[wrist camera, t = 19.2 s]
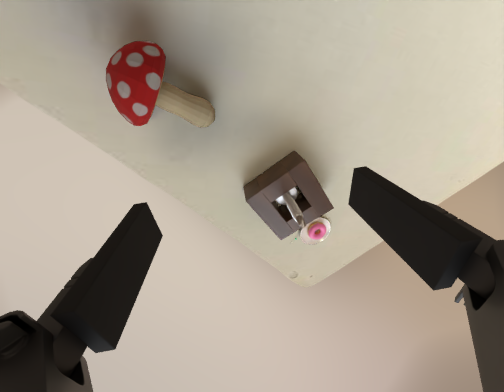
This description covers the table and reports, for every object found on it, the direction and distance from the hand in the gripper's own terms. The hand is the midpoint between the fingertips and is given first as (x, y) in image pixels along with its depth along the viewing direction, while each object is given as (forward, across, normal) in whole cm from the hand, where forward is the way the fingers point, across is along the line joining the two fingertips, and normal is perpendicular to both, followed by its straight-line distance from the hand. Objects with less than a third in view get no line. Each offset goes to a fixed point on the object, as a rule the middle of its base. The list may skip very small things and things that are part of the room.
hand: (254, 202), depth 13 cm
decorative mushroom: (+27, -10, +6) cm, 29 cm away
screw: (+27, +8, -15) cm, 32 cm away
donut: (+27, +14, -29) cm, 42 cm away
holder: (+27, +8, -15) cm, 32 cm away
